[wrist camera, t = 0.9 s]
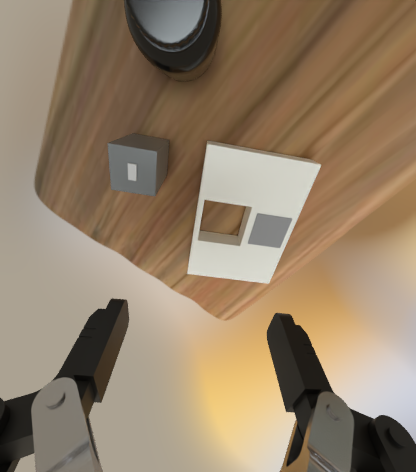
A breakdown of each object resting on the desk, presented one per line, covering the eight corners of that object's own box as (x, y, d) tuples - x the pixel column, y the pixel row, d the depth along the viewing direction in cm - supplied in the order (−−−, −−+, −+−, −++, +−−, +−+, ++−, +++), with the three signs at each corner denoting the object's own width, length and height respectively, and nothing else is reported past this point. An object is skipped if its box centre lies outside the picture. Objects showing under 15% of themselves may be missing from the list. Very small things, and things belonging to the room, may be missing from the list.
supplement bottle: (143, 65, 23) (91, 31, 12) (160, -23, 19) (108, -168, 9) (202, 94, 24) (199, 86, 14) (227, 17, 21) (249, -69, 10)
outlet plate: (207, 140, 26) (207, 144, 24) (310, 159, 28) (322, 165, 25) (188, 262, 37) (187, 274, 34) (264, 271, 38) (269, 284, 36)
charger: (133, 133, 26) (106, 143, 19) (169, 139, 26) (156, 152, 19) (133, 169, 28) (110, 190, 21) (167, 175, 29) (154, 197, 22)
